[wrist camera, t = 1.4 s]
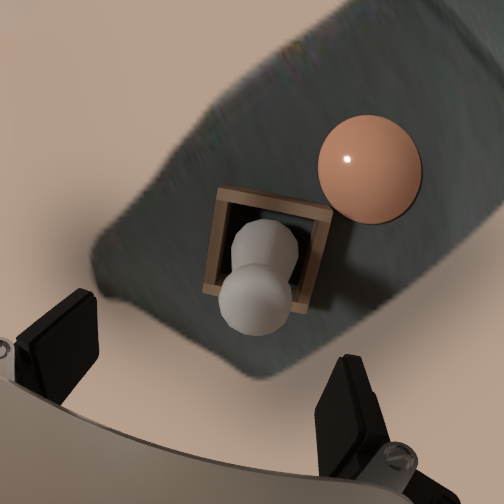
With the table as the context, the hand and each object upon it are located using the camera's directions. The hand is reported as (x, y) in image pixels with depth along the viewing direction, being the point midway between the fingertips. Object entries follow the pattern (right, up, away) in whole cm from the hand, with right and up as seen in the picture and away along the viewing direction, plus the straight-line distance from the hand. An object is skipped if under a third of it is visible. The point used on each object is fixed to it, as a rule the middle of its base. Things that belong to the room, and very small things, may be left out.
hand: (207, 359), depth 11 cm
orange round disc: (+12, +11, +16) cm, 23 cm away
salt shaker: (+3, +5, +19) cm, 20 cm away
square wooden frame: (+3, +5, +19) cm, 19 cm away
